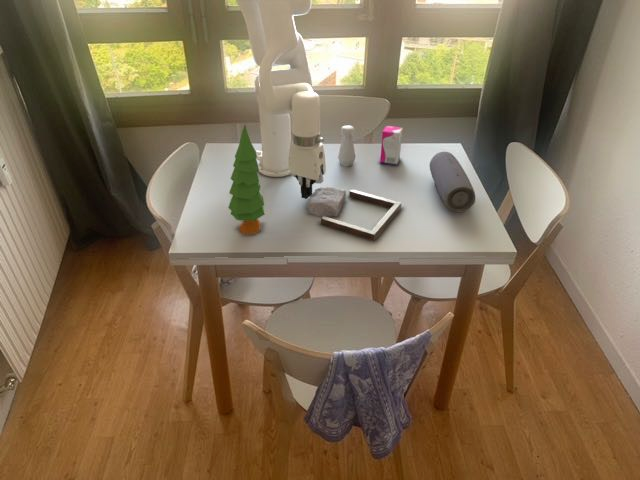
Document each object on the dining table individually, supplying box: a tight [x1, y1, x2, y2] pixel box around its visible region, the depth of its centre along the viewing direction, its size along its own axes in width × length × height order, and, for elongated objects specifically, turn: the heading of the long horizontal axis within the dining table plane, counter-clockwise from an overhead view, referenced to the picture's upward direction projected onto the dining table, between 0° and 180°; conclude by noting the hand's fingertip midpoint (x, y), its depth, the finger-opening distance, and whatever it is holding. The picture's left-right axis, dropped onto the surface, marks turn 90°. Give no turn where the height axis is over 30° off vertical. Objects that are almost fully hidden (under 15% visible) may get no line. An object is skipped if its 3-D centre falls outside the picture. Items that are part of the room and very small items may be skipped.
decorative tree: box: [227, 124, 266, 236], centre depth 125 cm, size 10×9×30 cm
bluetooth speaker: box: [429, 151, 476, 213], centre depth 146 cm, size 23×9×10 cm, turn 1°
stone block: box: [306, 186, 347, 218], centre depth 143 cm, size 12×5×10 cm
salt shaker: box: [337, 125, 356, 167], centre depth 163 cm, size 6×6×13 cm
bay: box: [320, 188, 402, 242], centre depth 139 cm, size 16×19×2 cm
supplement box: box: [379, 125, 404, 166], centre depth 165 cm, size 6×6×12 cm
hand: (306, 196), depth 146 cm, fingers closed
